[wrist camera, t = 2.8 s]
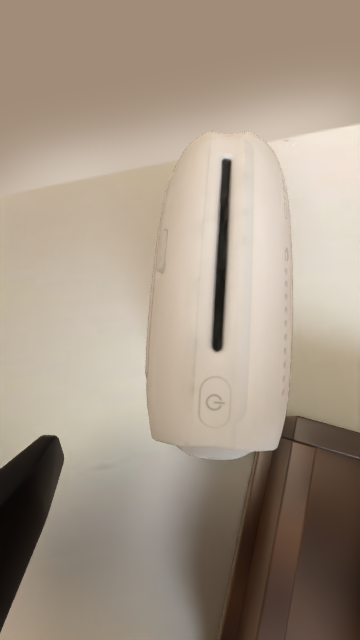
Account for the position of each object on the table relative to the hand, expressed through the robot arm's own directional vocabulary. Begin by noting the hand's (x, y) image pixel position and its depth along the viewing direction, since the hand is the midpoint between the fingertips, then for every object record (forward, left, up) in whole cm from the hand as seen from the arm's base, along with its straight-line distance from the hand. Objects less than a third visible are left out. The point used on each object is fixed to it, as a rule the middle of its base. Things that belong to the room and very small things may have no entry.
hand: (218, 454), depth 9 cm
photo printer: (+4, +3, -10) cm, 11 cm away
